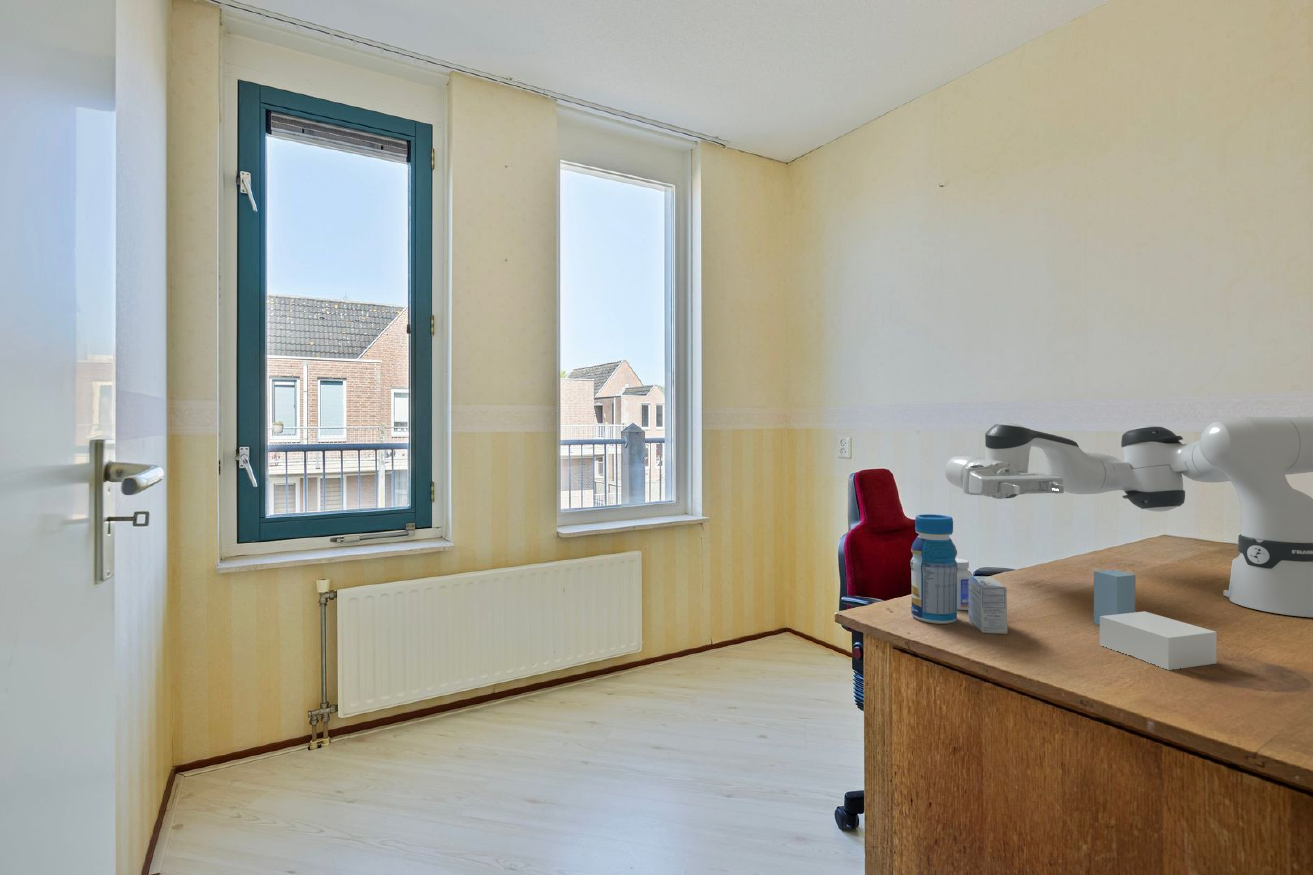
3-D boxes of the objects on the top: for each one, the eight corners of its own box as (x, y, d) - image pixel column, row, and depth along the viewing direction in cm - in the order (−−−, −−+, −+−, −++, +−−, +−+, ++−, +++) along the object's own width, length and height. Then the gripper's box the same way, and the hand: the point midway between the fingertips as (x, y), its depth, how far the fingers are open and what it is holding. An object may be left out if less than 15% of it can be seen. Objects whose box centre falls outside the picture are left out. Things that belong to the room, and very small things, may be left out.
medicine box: (1007, 634, 109) (1008, 587, 109) (980, 633, 110) (981, 586, 110) (992, 621, 117) (992, 576, 117) (967, 619, 118) (967, 575, 118)
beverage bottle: (941, 628, 113) (941, 521, 112) (901, 616, 120) (901, 515, 120) (966, 619, 117) (967, 517, 117) (927, 609, 125) (927, 512, 124)
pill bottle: (972, 604, 127) (972, 558, 127) (973, 611, 122) (973, 564, 122) (943, 601, 130) (943, 556, 129) (943, 608, 125) (943, 561, 125)
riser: (1144, 639, 106) (1144, 611, 106) (1216, 663, 95) (1216, 631, 95) (1099, 645, 104) (1099, 616, 103) (1168, 670, 93) (1168, 637, 93)
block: (1111, 621, 116) (1112, 569, 116) (1135, 628, 112) (1135, 574, 112) (1093, 623, 115) (1094, 571, 115) (1116, 631, 111) (1117, 576, 110)
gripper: (1034, 491, 145) (1083, 503, 132) (957, 493, 142) (998, 505, 129) (1036, 465, 145) (1085, 474, 131) (958, 466, 142) (1000, 476, 128)
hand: (1041, 490), depth 130 cm, fingers open, 8 cm apart
